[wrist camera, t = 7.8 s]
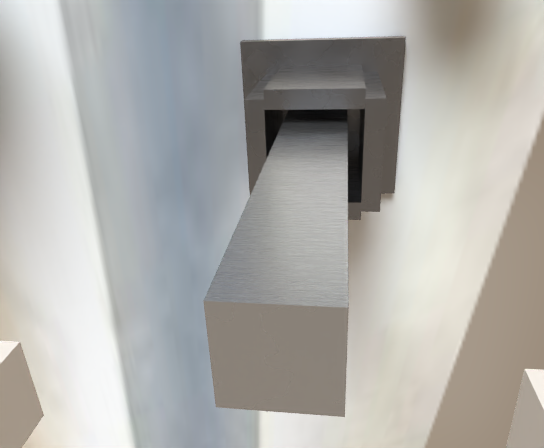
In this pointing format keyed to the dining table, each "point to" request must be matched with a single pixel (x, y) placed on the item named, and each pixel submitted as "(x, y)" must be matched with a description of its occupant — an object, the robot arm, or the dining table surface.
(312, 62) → the stand
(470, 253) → the dining table surface
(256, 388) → the column
